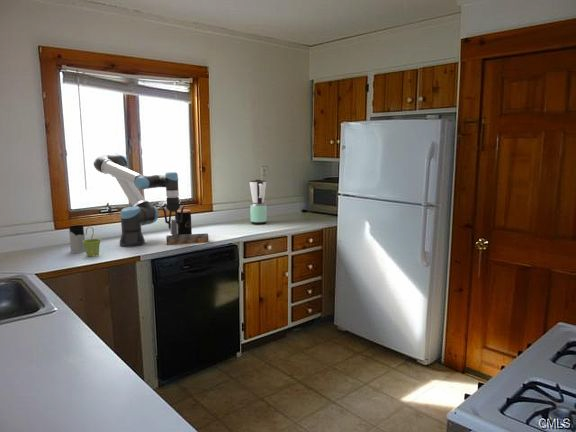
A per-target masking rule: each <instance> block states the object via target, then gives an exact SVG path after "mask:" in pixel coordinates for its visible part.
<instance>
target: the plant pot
mask: <svg viewBox="0 0 576 432" xmlns="http://www.w3.org/2000/svg"><path fill="white" fill-rule="evenodd" d="M101 241H102V239H101V238H92V239H91V238H90V239H85V240H84V241H83V243H84V245H85V249H86V252H85V253H86V256H87V257H89V258H90V257H97V256H99V254H100V246H101V245H100V243H101Z"/></svg>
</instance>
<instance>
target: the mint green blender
mask: <svg viewBox="0 0 576 432" xmlns="http://www.w3.org/2000/svg"><path fill="white" fill-rule="evenodd" d="M266 187H267V180H264V179H263V180H262V179H254V180H249V188H250V194H251V201H252V202H251V203H250V205H249V206H250V208H249V210H250V211H249V213H250V214H249V215H250V217H249V218H250V223H251V224H253V225H255V226H256V225H257V224H258V225H260V224H263V225H267V221H268V219H267V218H268V217H267V215H268V214H267V212H268V211H267V203H266V202H265V197H266V196H265V195H266Z"/></svg>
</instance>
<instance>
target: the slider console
mask: <svg viewBox="0 0 576 432" xmlns="http://www.w3.org/2000/svg"><path fill="white" fill-rule="evenodd" d="M165 237H166V241H165V242H166V245H167V246H168V245H169V246H171V245H189V244H202V243H204V244H205V243H210V240H209V234H208V233H206V232H205V233H192V234H187V235H177V237H172V234H170V235H166V236H165Z"/></svg>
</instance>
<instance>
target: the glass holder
mask: <svg viewBox="0 0 576 432" xmlns="http://www.w3.org/2000/svg"><path fill="white" fill-rule="evenodd" d="M68 228H69V231H68V232H69V233H68V234H69V244H70V253H71V254H80V253H86V249H85V245H84V243H83V241H84V240H86V239H85V235H87V234H88V229H89V228H91V230H92V235H91V237H90V239H93V237H94V235H95V234H94V233H95V231H94V228H93V227H92V226H88V227H86V230H85V231H84V225H82V224H81V225H80V224H79V225H78V224H77V225H71V226H69V227H68Z"/></svg>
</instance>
